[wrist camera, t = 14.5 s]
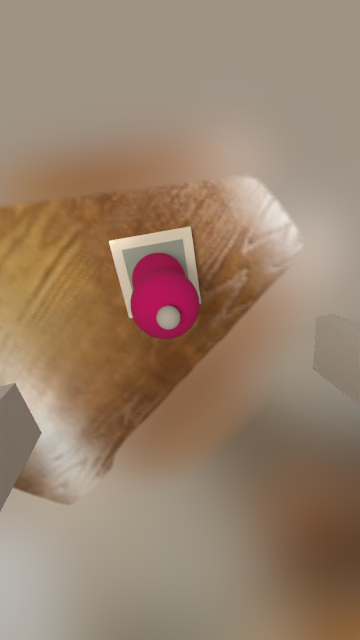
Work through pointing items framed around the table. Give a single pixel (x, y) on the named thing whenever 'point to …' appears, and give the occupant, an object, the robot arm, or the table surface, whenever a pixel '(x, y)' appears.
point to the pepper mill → (163, 297)
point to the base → (138, 247)
